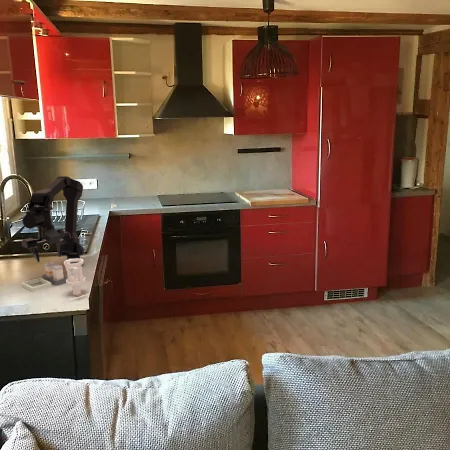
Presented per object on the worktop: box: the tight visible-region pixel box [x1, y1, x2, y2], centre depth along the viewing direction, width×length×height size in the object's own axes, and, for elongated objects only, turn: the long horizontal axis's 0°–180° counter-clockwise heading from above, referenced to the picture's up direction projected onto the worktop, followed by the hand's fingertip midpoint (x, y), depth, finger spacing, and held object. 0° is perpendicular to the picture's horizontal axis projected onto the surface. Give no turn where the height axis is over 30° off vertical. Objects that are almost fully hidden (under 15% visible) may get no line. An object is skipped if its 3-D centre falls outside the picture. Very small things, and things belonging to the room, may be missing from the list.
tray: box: [20, 277, 53, 293], centre depth 201 cm, size 10×8×2 cm
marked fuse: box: [43, 261, 56, 277], centre depth 208 cm, size 4×3×7 cm
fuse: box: [52, 264, 65, 280], centre depth 204 cm, size 4×3×7 cm
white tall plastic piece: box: [63, 258, 86, 298], centre depth 190 cm, size 7×7×15 cm
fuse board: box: [41, 273, 68, 287], centre depth 207 cm, size 12×5×3 cm, turn 45°
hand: (49, 259), depth 207 cm, fingers open, 9 cm apart
